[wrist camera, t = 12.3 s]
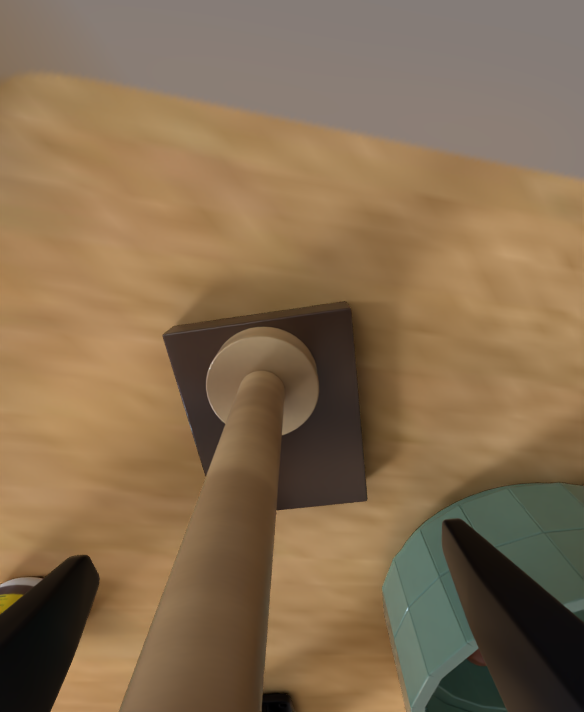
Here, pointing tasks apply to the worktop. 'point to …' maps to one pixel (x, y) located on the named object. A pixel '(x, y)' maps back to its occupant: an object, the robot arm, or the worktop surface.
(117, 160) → the worktop surface
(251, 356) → the wooden pestle
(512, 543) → the bowl
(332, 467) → the dark grey slate tile
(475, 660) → the bead
